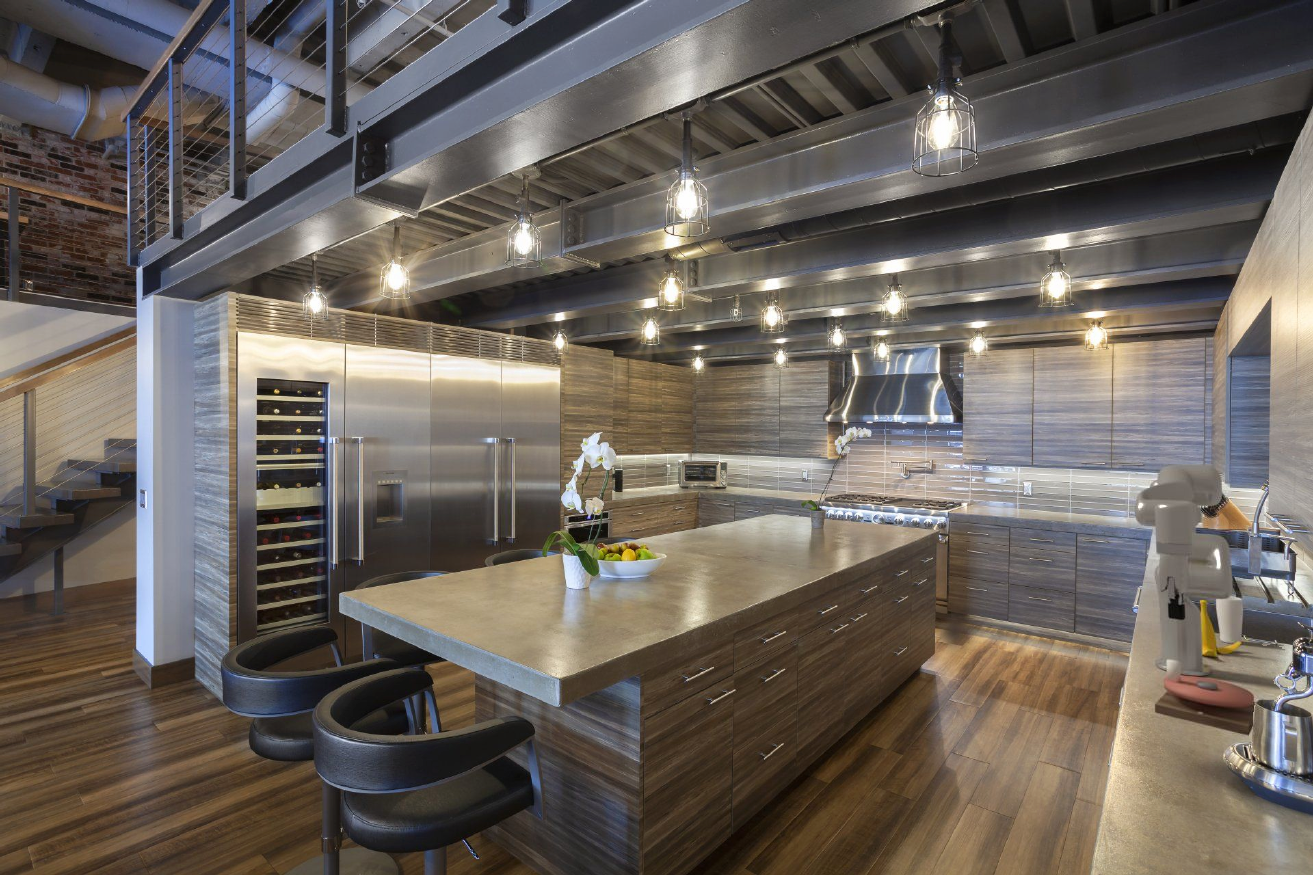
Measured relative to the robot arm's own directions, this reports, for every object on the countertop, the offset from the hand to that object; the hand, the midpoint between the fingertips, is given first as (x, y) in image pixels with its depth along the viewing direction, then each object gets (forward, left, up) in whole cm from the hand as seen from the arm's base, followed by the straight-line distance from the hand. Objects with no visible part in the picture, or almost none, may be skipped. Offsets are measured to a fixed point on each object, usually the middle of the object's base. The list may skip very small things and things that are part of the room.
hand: (1176, 618), depth 166 cm
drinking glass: (-74, 0, -21) cm, 77 cm away
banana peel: (-53, -3, -22) cm, 57 cm away
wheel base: (+5, +6, -21) cm, 23 cm away
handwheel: (+5, +7, -17) cm, 19 cm away
